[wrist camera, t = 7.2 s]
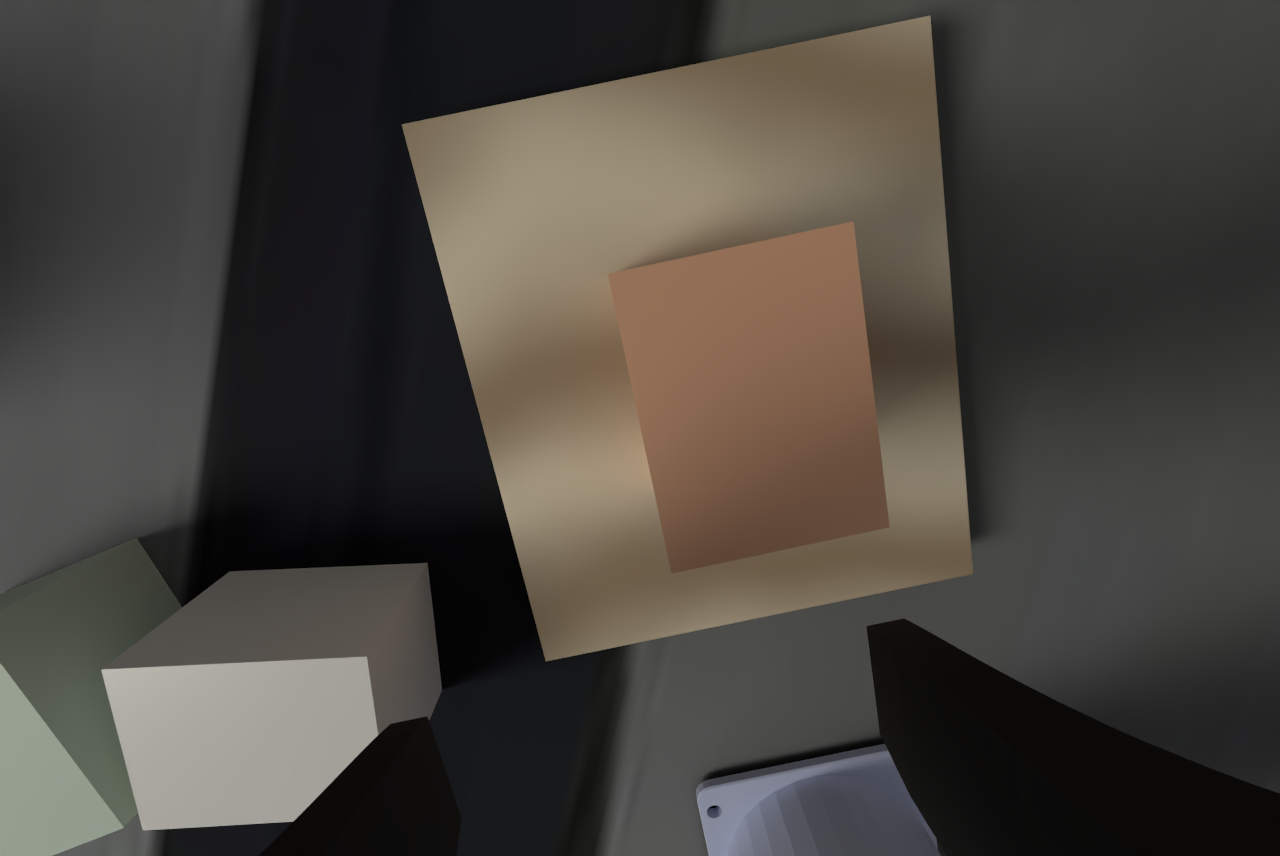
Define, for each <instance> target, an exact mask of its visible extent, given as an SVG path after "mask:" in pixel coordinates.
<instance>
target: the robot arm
mask: <svg viewBox="0 0 1280 856" xmlns="http://www.w3.org/2000/svg"><path fill="white" fill-rule="evenodd" d="M867 633H868V641H869V649H870V657H871V665H872V673H873V681H874V689H875V697H876V705H877V713H878V721H879V729H880V734H881V736H882V739H883V741H884V743H885V744H880V745H876V746H871V747H866V748H861V749H856V750H851V751H846V752H841V753H836V754H832V755H827V756H822V757H817V758H812V759H807V760H802V761H797V762H792V763H788V764H783V765H778V766H773V767H768V768H763V769H758V770H753V771H748V772H744V773H739V774H734V775H729V776H724V777H719V778H714V779H709V780H706V781H703V782H702V783H701V784H699V785H698V787H697V789H696V797H697V803H698V807H699V812H700V817H701V821H702V826H703V831H704V835H705V840H706V845H707V849H708V854H709V856H941V855H940V853H939V851H938V847H937V840H938V842H939V844H940V845H941V847H942V848H943V850H944V852H945V853H946V855H947V856H1280V794H1279V793H1276V792H1273V791H1270V790H1268V789H1265V788H1262V787H1259V786H1256V785H1253V784H1250V783H1248V782H1245V781H1242V780H1240V779H1237V778H1234V777H1232V776H1229V775H1226V774H1224V773H1221V772H1218V771H1216V770H1213V769H1210V768H1208V767H1205V766H1203V765H1200V764H1198V763H1195V762H1193V761H1191V760H1188V759H1186V758H1183V757H1181V756H1178V755H1176V754H1173V753H1171V752H1168V751H1166V750H1164V749H1161V748H1159V747H1156V746H1154V745H1151V744H1149V743H1146V742H1144V741H1142V740H1139V739H1137V738H1135V737H1132V736H1130V735H1128V734H1126V733H1123V732H1121V731H1119V730H1117V729H1114V728H1112V727H1110V726H1108V725H1106V724H1104V723H1101V722H1099V721H1097V720H1095V719H1093V718H1091V717H1089V716H1087V715H1085V714H1082V713H1080V712H1078V711H1076V710H1074V709H1072V708H1070V707H1068V706H1066V705H1064V704H1061V703H1059V702H1057V701H1055V700H1053V699H1051V698H1050V697H1048V696H1046V695H1044V694H1042V693H1040V692H1038V691H1036V690H1034V689H1032V688H1030V687H1028V686H1026V685H1024V684H1022V683H1020V682H1018V681H1016V680H1015V679H1013V678H1011V677H1009V676H1007V675H1005V674H1003V673H1002V672H1000V671H998V670H996V669H994V668H992V667H991V666H989V665H987V664H985V663H983V662H981V661H980V660H978V659H976V658H974V657H972V656H971V655H969V654H967V653H965V652H964V651H962V650H960V649H958V648H956V647H955V646H953V645H951V644H949V643H948V642H946V641H944V640H942V639H940V638H939V637H937V636H935V635H933V634H932V633H930V632H928V631H926V630H924V629H923V628H921V627H919V626H917V625H915V624H913V623H912V622H910V621H908V620H906V619H900V620H895V621H890V622H885V623H880V624H875V625H870V626H867ZM713 805H717V806H718V807H716V808H709V807H711V806H713ZM460 825H461V816H460V813H459V810H458V807H457V804H456V801H455V798H454V795H453V792H452V789H451V786H450V783H449V780H448V777H447V774H446V771H445V768H444V765H443V762H442V759H441V756H440V753H439V750H438V746H437V743H436V740H435V737H434V734H433V731H432V728H431V725H430V722H429V719H428V716H426V717H421V718H416V719H411V720H406V721H402V722H397V723H392V724H390V725H389V726H388V727H387V728H385V729H384V730H383V731H382V732H381V733H380V734H379V735H378V736H377V737H376V738H375V739H374V740H373V741H372V742H371V743H370V744H369V745H368V746H367V747H366V748H365V749H364V750H363V751H362V752H361V753H360V754H359V755H358V756H357V757H356V758H355V759H354V760H353V761H352V762H351V763H350V764H349V765H348V766H347V767H346V768H345V769H344V770H343V771H342V772H341V773H340V774H339V775H338V776H337V777H336V778H335V779H334V781H333V782H332V783H331V784H330V785H329V786H328V787H327V788H326V789H325V790H324V791H323V792H322V793H321V794H320V795H319V796H318V797H317V798H316V799H315V800H314V801H313V802H312V803H311V804H310V805H309V806H308V807H307V808H306V809H305V810H304V811H303V812H302V813H301V814H300V815H299V816H298V817H297V818H296V819H295V821H294V822H293V823H292V824H291V825H290V826H289V827H288V828H287V829H286V830H285V831H284V832H283V833H282V834H281V835H280V836H279V837H278V838H277V839H276V840H275V841H274V842H273V843H271V844H270V845H269V846H268V847H267V848H266V849H265V850H264V851H263V852H262V853H261V854H260V855H259V856H456V853H457V846H458V839H459V832H460Z"/></svg>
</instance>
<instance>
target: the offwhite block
mask: <svg viewBox="0 0 1280 856" xmlns="http://www.w3.org/2000/svg"><path fill="white" fill-rule="evenodd" d="M101 671H102V675H103V679H104V683H105V687H106V690H107V694H108V698H109V702H110V706H111V710H112V714H113V717H114V721H115V725H116V729H117V733H118V737H119V741H120V744H121V748H122V752H123V756H124V760H125V764H126V767H127V771H128V775H129V779H130V783H131V787H132V791H133V794H134V798H135V802H136V806H137V810H138V814H139V818H140V821H141V825H142V829H143V830H158V829H175V828H192V827H209V826H226V825H243V824H260V823H277V822H294V821H295V819H296V818H297V817H298V816H299V815H300V814H301V813H302V812H303V811H304V810H305V809H306V808H307V807H308V806H309V805H310V804H311V803H312V802H313V801H314V800H315V799H316V798H317V797H318V796H319V795H320V794H321V793H322V792H323V791H324V790H325V789H326V788H327V787H328V786H329V785H330V784H331V783H332V782H333V781H334V779H335V778H336V777H337V776H338V775H339V774H340V773H341V772H342V771H343V770H344V769H345V768H346V767H347V766H348V765H349V764H350V763H351V762H352V761H353V760H354V759H355V758H356V757H357V756H358V755H359V754H360V753H361V752H362V751H363V750H364V749H365V748H366V747H367V746H368V745H369V744H370V743H371V742H372V741H373V740H374V739H375V738H376V737H377V736H378V735H379V734H380V733H381V732H382V731H383V730H384V729H385V728H387V727H388V726H389V725H390V724H392V723H397V722H402V721H406V720H411V719H416V718H421V717H426V716H428V719H429V720H430V717H431V715H432V713H433V710H434V708H435V705H436V703H437V700H438V698H439V696H440V693H441V691H442V685H441V676H440V668H439V659H438V650H437V641H436V633H435V624H434V615H433V606H432V597H431V589H430V580H429V571H428V563H415V564H391V565H368V566H345V567H322V568H298V569H275V570H252V571H230V572H228V573H227V574H226V575H224V576H223V577H222V578H220V579H219V580H218V581H217V582H215V583H214V584H213V585H211V586H210V587H209V588H207V589H206V590H205V591H203V592H202V593H201V594H199V595H198V596H197V597H196V598H194V599H193V600H192V601H190V602H189V603H188V604H186V605H185V606H184V607H182V608H181V609H180V610H178V611H177V612H176V613H175V614H173V615H172V616H171V617H169V618H168V619H167V620H165V621H164V622H163V623H161V624H160V625H159V626H158V627H156V628H155V629H154V630H152V631H151V632H150V633H148V634H147V635H146V636H144V637H143V638H142V639H140V640H139V641H138V642H137V643H135V644H134V645H133V646H131V647H130V648H129V649H127V650H126V651H125V652H123V653H122V654H121V655H119V656H118V657H117V658H116V659H114V660H113V661H112V662H110V663H109V664H108V665H106V666H105V667H104V668H102V669H101Z"/></svg>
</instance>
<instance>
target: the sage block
mask: <svg viewBox="0 0 1280 856" xmlns="http://www.w3.org/2000/svg"><path fill="white" fill-rule="evenodd" d="M181 608H182V606H181V605H180V603H179V602H178V600H177V599H176V597H175V596H174V594H173V593H172V591H171V590H170V588H169V587H168V585H167V583H166V582H165V580H164V579H163V577H162V576H161V574H160V573H159V571H158V570H157V568H156V567H155V565H154V564H153V562H152V561H151V559H150V557H149V556H148V554H147V553H146V551H145V550H144V548H143V547H142V545H141V544H140V542H139V541H138V539H137V538H135V539H133V540H130V541H128V542H125V543H123V544H121V545H118V546H116V547H113V548H111V549H108V550H106V551H104V552H101V553H99V554H96V555H94V556H91V557H89V558H86V559H84V560H82V561H79V562H77V563H74V564H72V565H69V566H67V567H64V568H62V569H60V570H57V571H55V572H52V573H50V574H47V575H45V576H43V577H40V578H38V579H35V580H33V581H30V582H28V583H25V584H23V585H21V586H18V587H16V588H13V589H11V590H8V591H6V592H4V593H2V594H0V856H52V855H55V854H58V853H60V852H63V851H65V850H68V849H71V848H73V847H76V846H78V845H81V844H83V843H86V842H89V841H91V840H94V839H96V838H99V837H101V836H104V835H107V834H109V833H112V832H114V831H117V830H120V829H122V828H124V827H125V826H126V825H127V824H128V823H129V822H130V821H131V819H132V818H133V817H134V816H135V815H136V814H137V813H138V810H137V806H136V802H135V798H134V794H133V791H132V787H131V783H130V779H129V775H128V771H127V767H126V764H125V760H124V756H123V752H122V748H121V744H120V741H119V737H118V733H117V729H116V725H115V721H114V717H113V714H112V710H111V706H110V702H109V698H108V694H107V690H106V687H105V683H104V679H103V675H102V671H101V669H102V668H104V667H105V666H106V665H108V664H109V663H110V662H112V661H113V660H114V659H116V658H117V657H118V656H119V655H121V654H122V653H123V652H125V651H126V650H127V649H129V648H130V647H131V646H133V645H134V644H135V643H137V642H138V641H139V640H140V639H142V638H143V637H144V636H146V635H147V634H148V633H150V632H151V631H152V630H154V629H155V628H156V627H158V626H159V625H160V624H161V623H163V622H164V621H165V620H167V619H168V618H169V617H171V616H172V615H173V614H175V613H176V612H177V611H178V610H180V609H181Z"/></svg>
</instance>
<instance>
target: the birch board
mask: <svg viewBox="0 0 1280 856" xmlns="http://www.w3.org/2000/svg"><path fill="white" fill-rule="evenodd" d="M402 127H403V131H404V135H405V138H406V142H407V146H408V150H409V153H410V157H411V161H412V164H413V168H414V172H415V176H416V179H417V183H418V187H419V190H420V194H421V198H422V202H423V205H424V209H425V213H426V217H427V220H428V224H429V228H430V231H431V235H432V239H433V243H434V246H435V250H436V254H437V258H438V261H439V265H440V269H441V272H442V276H443V280H444V284H445V287H446V291H447V295H448V299H449V302H450V306H451V310H452V313H453V317H454V321H455V325H456V328H457V332H458V336H459V339H460V343H461V347H462V351H463V354H464V358H465V362H466V366H467V369H468V373H469V377H470V380H471V384H472V388H473V392H474V395H475V399H476V403H477V407H478V410H479V414H480V418H481V421H482V425H483V429H484V433H485V436H486V440H487V444H488V448H489V451H490V455H491V459H492V462H493V466H494V470H495V474H496V477H497V481H498V485H499V488H500V492H501V496H502V500H503V503H504V507H505V511H506V515H507V518H508V522H509V526H510V529H511V533H512V537H513V541H514V544H515V548H516V552H517V556H518V559H519V563H520V567H521V570H522V574H523V578H524V582H525V585H526V589H527V593H528V597H529V600H530V604H531V608H532V611H533V615H534V619H535V623H536V626H537V630H538V634H539V637H540V641H541V645H542V649H543V652H544V656H545V660H546V661H550V660H555V659H560V658H565V657H570V656H575V655H580V654H584V653H589V652H594V651H599V650H604V649H609V648H614V647H619V646H624V645H628V644H633V643H638V642H643V641H648V640H653V639H658V638H663V637H668V636H672V635H677V634H682V633H687V632H692V631H697V630H702V629H707V628H711V627H716V626H721V625H726V624H731V623H736V622H741V621H746V620H751V619H755V618H760V617H765V616H770V615H775V614H780V613H785V612H790V611H794V610H799V609H804V608H809V607H814V606H819V605H824V604H829V603H834V602H838V601H843V600H848V599H853V598H858V597H863V596H868V595H873V594H878V593H882V592H887V591H892V590H897V589H902V588H907V587H912V586H917V585H921V584H926V583H931V582H936V581H941V580H946V579H951V578H956V577H961V576H965V575H970V574H973V567H972V554H971V540H970V527H969V514H968V501H967V488H966V475H965V462H964V449H963V436H962V423H961V410H960V397H959V384H958V371H957V358H956V345H955V332H954V318H953V305H952V292H951V279H950V266H949V253H948V240H947V227H946V214H945V201H944V188H943V175H942V162H941V149H940V136H939V123H938V109H937V96H936V83H935V70H934V57H933V44H932V31H931V18H930V16H926V17H921V18H916V19H911V20H907V21H902V22H897V23H892V24H887V25H882V26H877V27H873V28H868V29H863V30H858V31H853V32H848V33H844V34H839V35H834V36H829V37H824V38H819V39H814V40H810V41H805V42H800V43H795V44H790V45H785V46H780V47H776V48H771V49H766V50H761V51H756V52H751V53H746V54H742V55H737V56H732V57H727V58H722V59H717V60H713V61H708V62H703V63H698V64H693V65H688V66H683V67H679V68H674V69H669V70H664V71H659V72H654V73H649V74H645V75H640V76H635V77H630V78H625V79H620V80H615V81H611V82H606V83H601V84H596V85H591V86H586V87H582V88H577V89H572V90H567V91H562V92H557V93H552V94H548V95H543V96H538V97H533V98H528V99H523V100H518V101H514V102H509V103H504V104H499V105H494V106H489V107H484V108H480V109H475V110H470V111H465V112H460V113H455V114H450V115H446V116H441V117H436V118H431V119H426V120H421V121H417V122H412V123H407V124H402ZM853 221H854V229H855V238H856V246H857V255H858V263H859V272H860V280H861V289H862V297H863V306H864V314H865V323H866V331H867V339H868V348H869V356H870V365H871V373H872V382H873V390H874V399H875V407H876V416H877V424H878V433H879V441H880V450H881V458H882V466H883V475H884V483H885V492H886V500H887V509H888V517H889V526H890V527H889V528H885V529H880V530H875V531H870V532H866V533H861V534H856V535H852V536H847V537H842V538H837V539H833V540H828V541H823V542H819V543H814V544H809V545H804V546H800V547H795V548H790V549H785V550H781V551H776V552H771V553H767V554H762V555H757V556H752V557H748V558H743V559H738V560H734V561H729V562H724V563H719V564H715V565H710V566H705V567H701V568H696V569H691V570H686V571H682V572H677V573H671V569H670V564H669V559H668V555H667V550H666V545H665V541H664V536H663V531H662V527H661V522H660V517H659V513H658V508H657V503H656V498H655V494H654V489H653V484H652V480H651V475H650V470H649V466H648V461H647V456H646V452H645V447H644V442H643V438H642V433H641V428H640V424H639V419H638V414H637V409H636V405H635V400H634V395H633V391H632V386H631V381H630V377H629V372H628V367H627V363H626V358H625V353H624V349H623V344H622V339H621V335H620V330H619V325H618V320H617V316H616V311H615V306H614V302H613V297H612V292H611V288H610V283H609V278H608V274H609V273H614V272H619V271H624V270H628V269H633V268H638V267H642V266H647V265H652V264H656V263H661V262H666V261H670V260H675V259H680V258H684V257H689V256H694V255H698V254H703V253H708V252H712V251H717V250H722V249H726V248H731V247H736V246H740V245H745V244H750V243H755V242H759V241H764V240H769V239H773V238H778V237H783V236H787V235H792V234H797V233H801V232H806V231H811V230H815V229H820V228H825V227H829V226H834V225H839V224H843V223H848V222H853Z"/></svg>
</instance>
